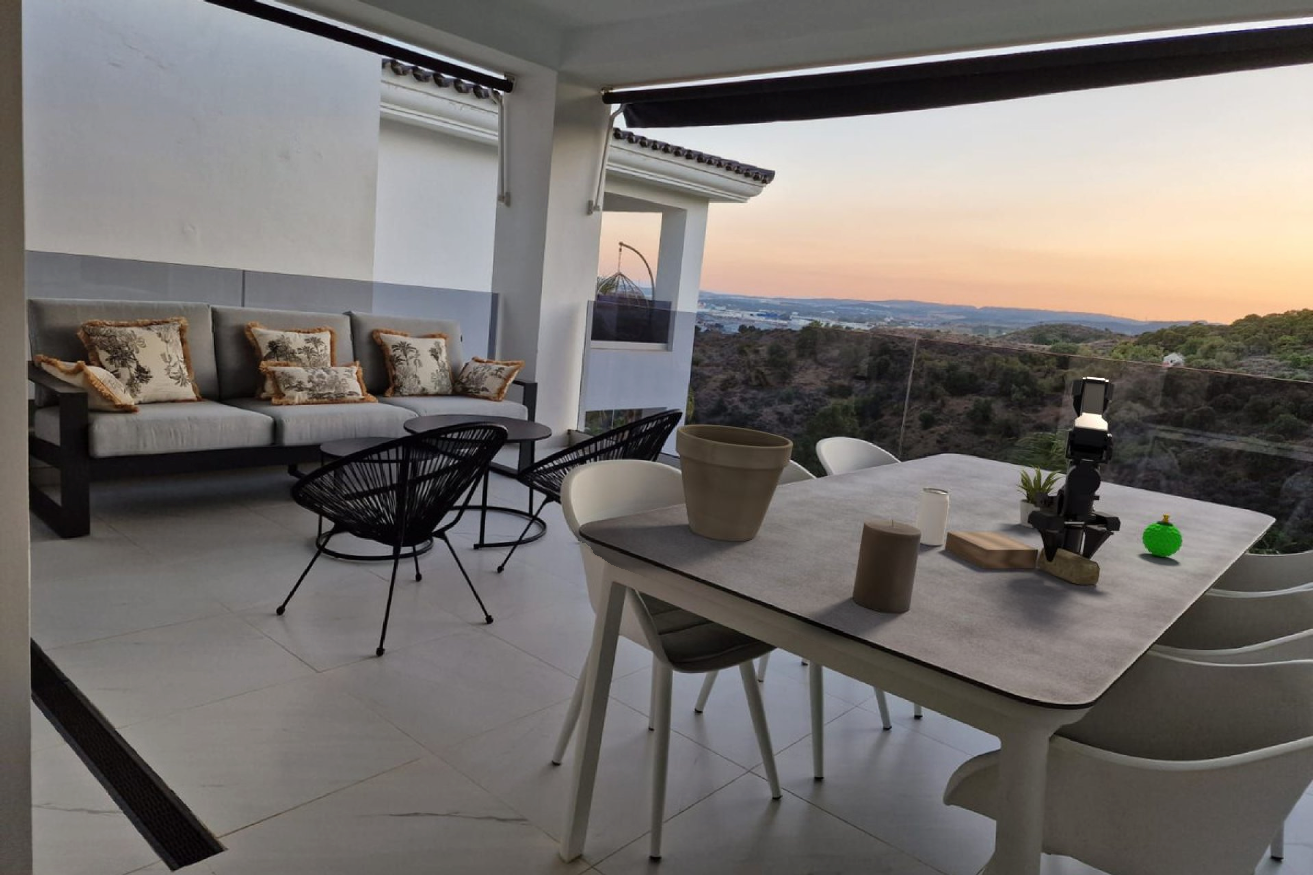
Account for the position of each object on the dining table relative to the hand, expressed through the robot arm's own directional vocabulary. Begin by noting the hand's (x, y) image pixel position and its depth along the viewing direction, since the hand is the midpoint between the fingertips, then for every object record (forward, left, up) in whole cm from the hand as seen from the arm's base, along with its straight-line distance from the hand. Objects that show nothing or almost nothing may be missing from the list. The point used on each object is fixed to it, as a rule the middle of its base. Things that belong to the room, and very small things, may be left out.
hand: (1067, 561), depth 171 cm
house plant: (-27, -38, -3) cm, 47 cm away
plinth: (+9, -12, -3) cm, 15 cm away
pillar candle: (+51, +12, -3) cm, 53 cm away
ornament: (-40, -13, -3) cm, 42 cm away
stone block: (0, 0, -4) cm, 4 cm away
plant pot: (+63, -31, -3) cm, 70 cm away
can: (+16, -24, -3) cm, 29 cm away
